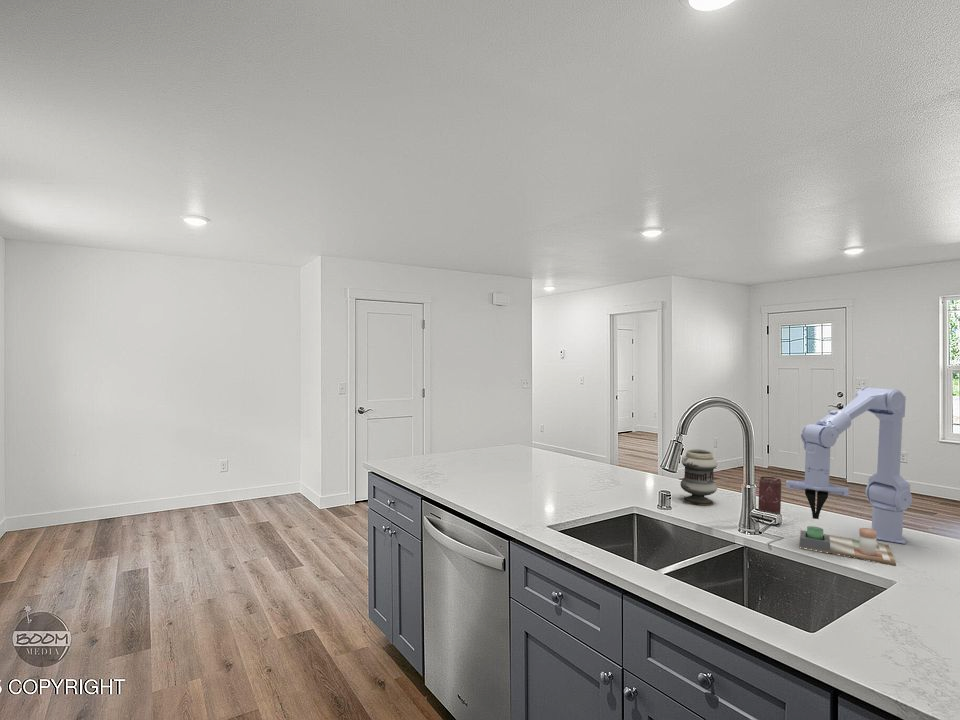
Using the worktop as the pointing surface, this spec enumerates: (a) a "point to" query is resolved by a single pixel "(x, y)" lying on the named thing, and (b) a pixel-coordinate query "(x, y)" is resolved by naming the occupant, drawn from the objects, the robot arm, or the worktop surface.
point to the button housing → (815, 542)
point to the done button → (815, 532)
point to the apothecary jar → (699, 476)
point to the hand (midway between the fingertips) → (815, 517)
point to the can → (770, 494)
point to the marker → (868, 541)
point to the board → (858, 550)
